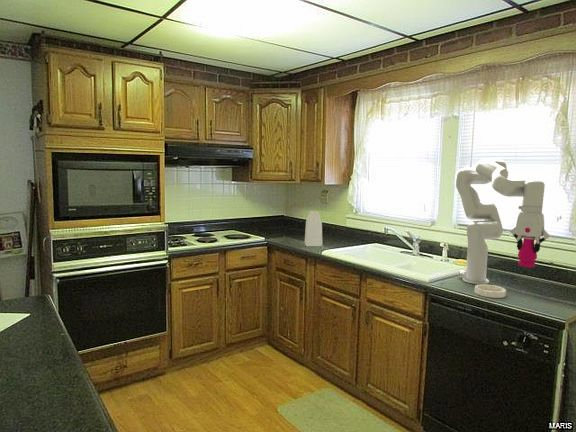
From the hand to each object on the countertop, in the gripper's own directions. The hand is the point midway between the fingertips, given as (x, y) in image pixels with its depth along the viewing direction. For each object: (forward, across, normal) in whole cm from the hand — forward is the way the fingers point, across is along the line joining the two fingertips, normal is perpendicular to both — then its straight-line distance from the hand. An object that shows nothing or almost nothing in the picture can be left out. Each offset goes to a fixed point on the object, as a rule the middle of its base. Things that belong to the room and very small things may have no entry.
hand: (527, 250), depth 179 cm
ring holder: (+23, -14, 0) cm, 27 cm away
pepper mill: (+7, 0, 0) cm, 7 cm away
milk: (+26, -148, +16) cm, 151 cm away
